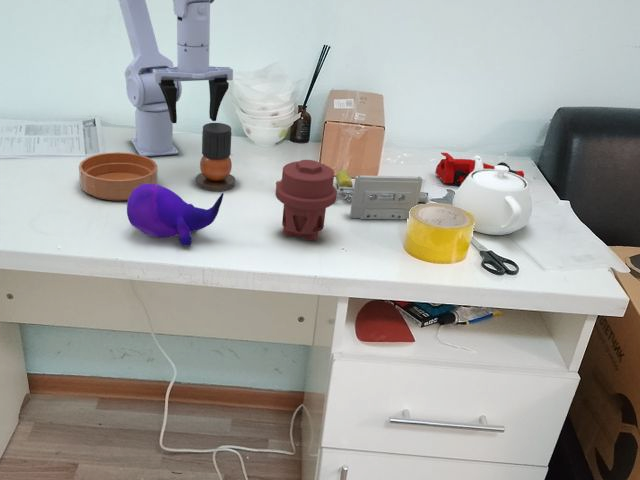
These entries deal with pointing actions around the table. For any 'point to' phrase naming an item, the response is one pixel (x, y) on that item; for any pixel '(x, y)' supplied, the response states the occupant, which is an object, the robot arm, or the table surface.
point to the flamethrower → (347, 188)
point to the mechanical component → (305, 197)
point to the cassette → (384, 207)
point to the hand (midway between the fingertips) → (193, 120)
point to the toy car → (461, 169)
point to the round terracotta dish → (116, 174)
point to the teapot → (495, 199)
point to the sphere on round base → (215, 174)
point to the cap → (216, 140)
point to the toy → (167, 213)
